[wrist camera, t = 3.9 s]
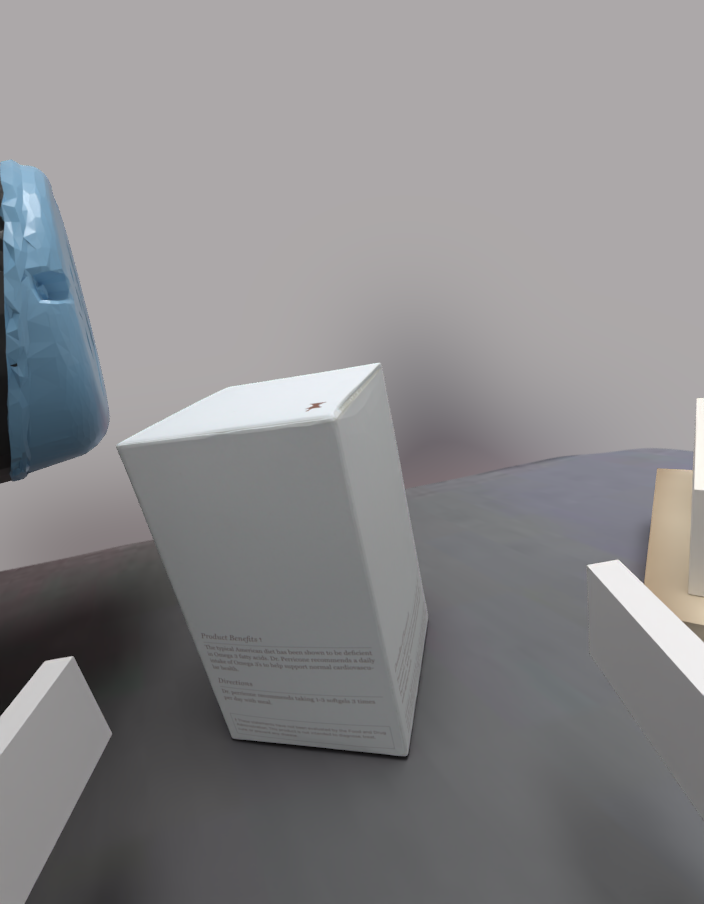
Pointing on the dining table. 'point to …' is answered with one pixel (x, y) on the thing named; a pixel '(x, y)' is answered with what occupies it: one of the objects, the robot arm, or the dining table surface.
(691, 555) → the tower top block
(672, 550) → the tower base block
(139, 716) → the dining table surface
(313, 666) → the supplement box
